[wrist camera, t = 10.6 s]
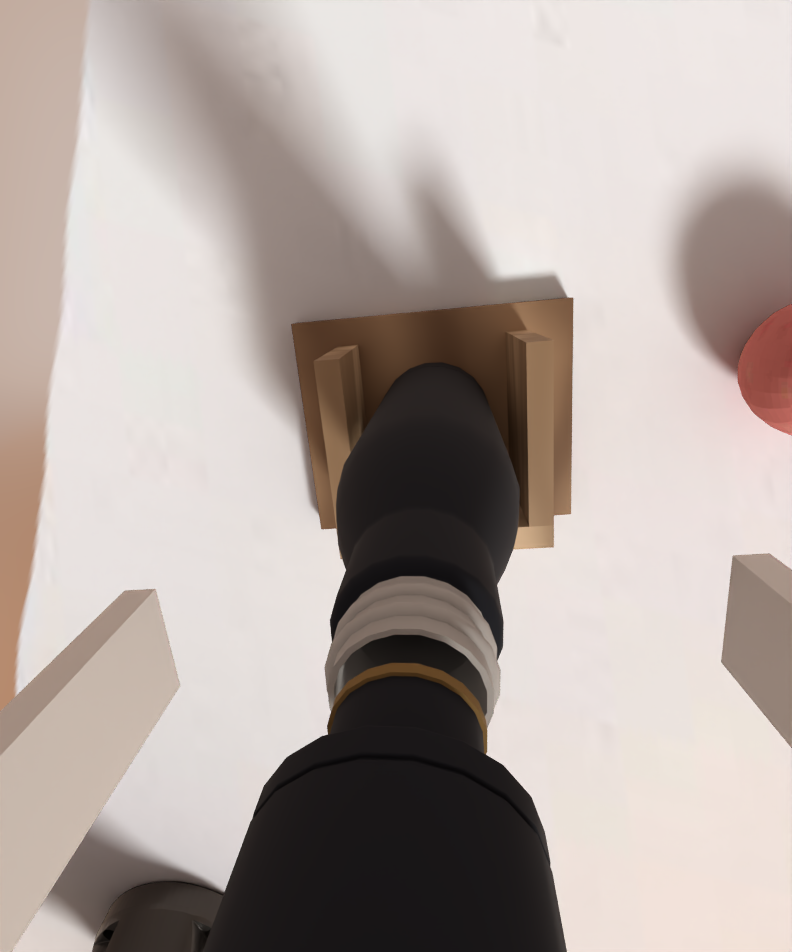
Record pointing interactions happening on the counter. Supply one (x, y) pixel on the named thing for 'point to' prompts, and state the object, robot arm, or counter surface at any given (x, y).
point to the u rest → (473, 350)
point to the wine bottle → (406, 715)
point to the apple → (769, 371)
